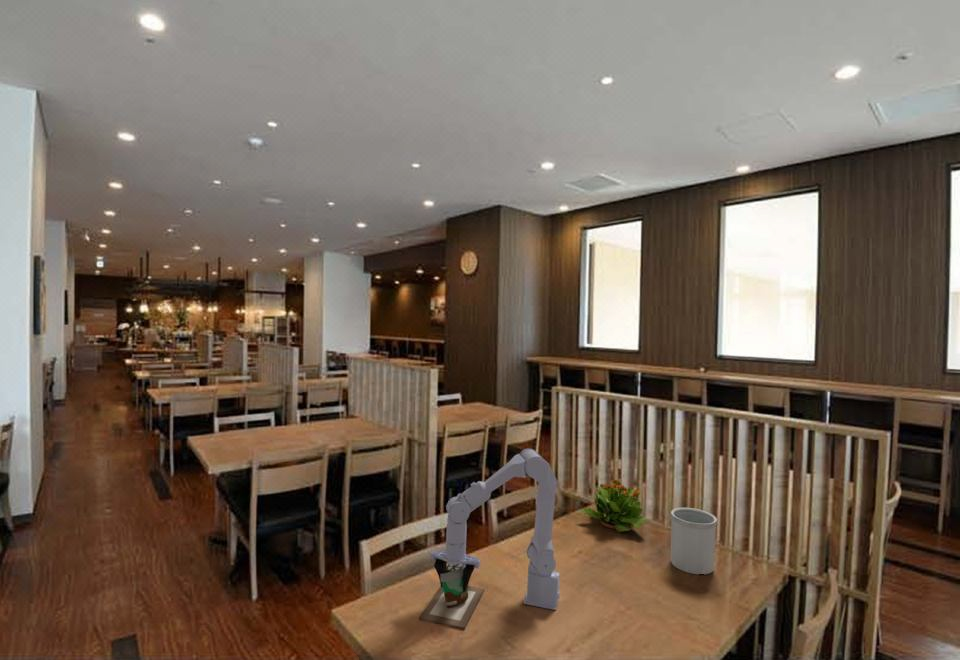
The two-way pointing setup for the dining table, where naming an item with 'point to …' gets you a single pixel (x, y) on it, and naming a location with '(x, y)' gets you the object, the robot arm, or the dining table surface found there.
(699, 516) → the utensil holder
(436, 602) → the brown picture frame
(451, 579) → the food container
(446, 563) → the robot arm
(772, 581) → the dining table surface
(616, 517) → the potted flower
